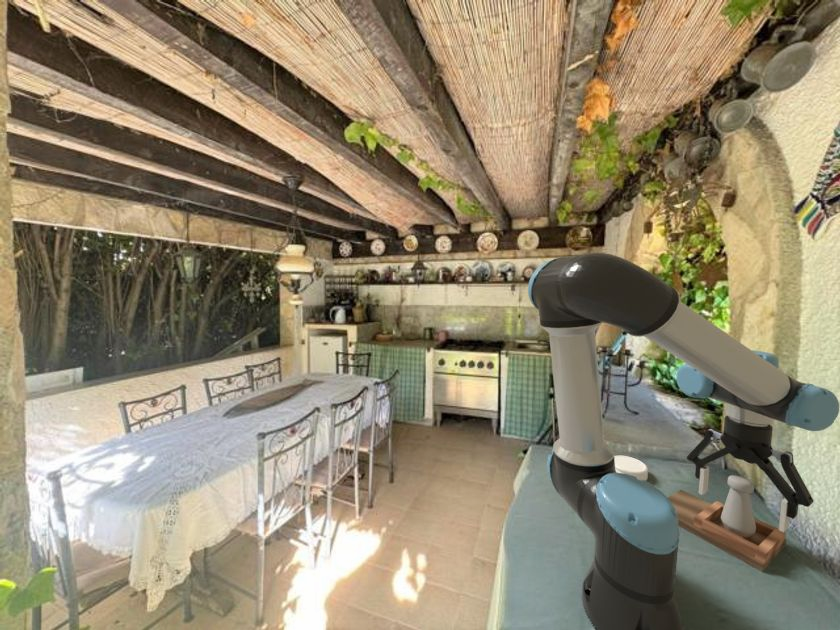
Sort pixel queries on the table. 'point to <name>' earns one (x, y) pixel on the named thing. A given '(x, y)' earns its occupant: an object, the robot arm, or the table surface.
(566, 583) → the table surface
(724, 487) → the table surface
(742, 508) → the salt shaker
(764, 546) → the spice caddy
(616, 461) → the white round container
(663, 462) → the table surface
